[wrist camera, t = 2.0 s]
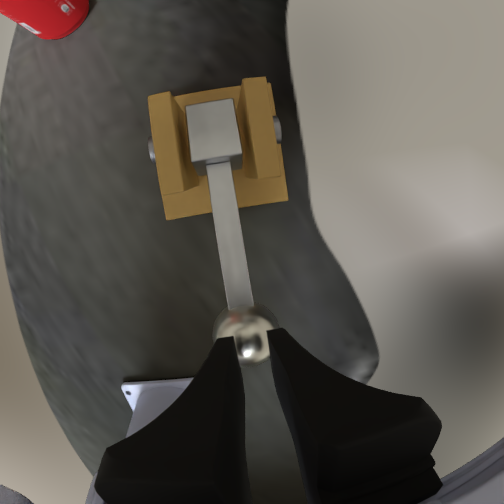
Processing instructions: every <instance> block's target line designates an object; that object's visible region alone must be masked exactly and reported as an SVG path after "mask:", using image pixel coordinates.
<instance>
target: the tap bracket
mask: <svg viewBox="0 0 504 504" xmlns="http://www.w3.org/2000/svg"><path fill="white" fill-rule="evenodd" d="M229 98H233V99H234V103H235V109H236V114H237V120H238V126H239V132H240V137H241V143H242V149H243V162H242V169H239V170H233V171H232V173H233V179H234V186H235V192H236V198H237V204H238V208H241V207H247V206H254V205H260V204H267V203H274V202H281V201H288V193H287V186H286V178H285V171H284V164H283V157H282V150H281V144H280V143H281V140H282V131H281V125H280V121H279V118H278V116H276V112H275V106H274V100H273V94H272V88H271V83H267V79H266V77H255V78H245V79H243V80H242V85H241V86H233V87H226V88H219V89H212V90H206V91H200V92H195V93H189V94H184V95H179V96H175V97H173V95H172V94H171V92H170V91H167V92H163V93H159V94H154V95H150V96H148V106H149V115H150V123H151V131H152V136H150V137H149V139H148V150H149V155H150V158H151V161H152V163H153V164H156V166H157V173H158V179H159V185H160V191H161V195H162V199H163V205H164V210H165V216H166V220H172V219H177V218H183V217H188V216H194V215H199V214H205V213H211V212H212V207H211V200H210V193H209V186H208V179H207V175H203V176H198V175H197V173H196V171H195V169H194V167H193V165H192V163H191V161H190V152H189V144H188V135H187V126H186V117H185V106H187V105H192V104H197V103H203V102H209V101H215V100H222V99H229Z"/></svg>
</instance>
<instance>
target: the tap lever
mask: <svg viewBox="0 0 504 504" xmlns="http://www.w3.org/2000/svg"><path fill="white" fill-rule="evenodd" d="M185 117H186V126H187V135H188V144H189V152H190V161H191V163H192V165H193V167H194V169H195V171H196V173H197V175H198V176H203V175H207V179H208V186H209V193H210V200H211V207H212V213H213V220H214V226H215V233H216V239H217V245H218V251H219V257H220V263H221V269H222V275H223V281H224V287H225V293H226V298H227V304H228V307H226V308H225V309H224V310H223V311H222V312H221V313H220V314H219V315H218V317H217V319H216V321H215V323H214V326H213V342H214V343H215V341H216V339H217V338H222V337H229V336H234V341H235V345H236V350H237V355H238V359H239V364H240V367H253V366H257V365H260V364H262V363H264V362H265V361H267V360H268V359H269V358H270V352H269V346H268V339H267V332H266V330H272V329H277V328H279V324H278V322H277V320H276V318H275V316H274V315H273V313H272V312H271V311H270V310H269V309H267V308H266V307H265V306H263V305H261V304H259V303H256V302H254V301H253V295H252V289H251V283H250V277H249V271H248V265H247V259H246V253H245V247H244V241H243V235H242V229H241V223H240V217H239V210H238V204H237V198H236V192H235V186H234V179H233V173H232V171H233V170H239V169H242V162H243V149H242V143H241V137H240V132H239V126H238V120H237V114H236V109H235V103H234V99H233V98H229V99H222V100H215V101H209V102H203V103H197V104H192V105H187V106H185Z"/></svg>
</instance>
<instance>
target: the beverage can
mask: <svg viewBox="0 0 504 504" xmlns="http://www.w3.org/2000/svg"><path fill="white" fill-rule="evenodd" d="M88 12H89V0H0V13H2V14H3V15H5V16H7V17H8V18H10V19H12V20H13V21H15V22H16V23H18V24H19V25H21V26H23V27H24V28H26V29H27V30H29V31H30V32H32V33H34V34H35V35H37V36H38V37H40V38H42V39H54V40H57V39H61V38H64V37H66V36H68V35H70V34H71V33H73V32H74V31H75V30H76V29H77V28H78V27H79V26H80V25H81V24H82V23H83V22H84V20H85V19H86V17H87V15H88Z"/></svg>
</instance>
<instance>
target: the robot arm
mask: <svg viewBox="0 0 504 504" xmlns="http://www.w3.org/2000/svg"><path fill="white" fill-rule="evenodd" d="M266 332H267V339H268V346H269V352H270V359H271V366H272V373H273V377H274V382H275V387H276V392H277V395H278V398H279V401H280V404H281V407H282V409H283V412H284V415H285V418H286V421H287V424H288V426H289V429H290V432H291V435H292V438H293V441H294V445H295V449H296V453H297V457H298V462H299V466H300V471H301V475H302V479H303V484H304V488H305V493H306V497H307V502H308V504H504V438H502V439H501V440H500V441H498V442H497V443H496V444H494V445H493V446H492V447H490V448H489V449H487V450H486V451H485V452H483V453H482V454H480V455H479V456H477V457H476V458H474V459H473V460H471V461H470V462H468V463H467V464H465V465H463V466H462V467H460V468H458V469H457V470H455V471H453V472H452V473H450V474H448V475H446V476H445V477H443V478H441V479H440V478H439V477H438V475H437V473H436V472H435V470H434V469H433V466H434V465H435V461H434V459H433V457H432V456H431V454H430V453H431V452H432V450H433V448H434V446H435V444H436V441H437V439H438V437H439V435H440V431H441V428H442V424H441V421H440V419H439V418H438V416H437V415H436V414H435V412H434V411H433V410H432V409H431V407H430V406H429V405H428V404H427V403H426V402H425V401H424V400H423V399H422V398H421V397H415V396H409V395H402V394H396V393H392V392H388V391H384V390H380V389H377V388H374V387H371V386H368V385H365V384H363V383H360V382H358V381H355V380H353V379H350V378H348V377H346V376H344V375H342V374H340V373H339V372H337V371H335V370H333V369H332V368H330V367H328V366H327V365H325V364H324V363H322V362H321V361H320V360H318V359H317V358H316V357H314V356H313V355H312V354H310V353H309V352H308V351H307V350H306V349H304V348H303V347H302V346H301V345H300V344H299V343H298V342H297V341H296V340H295V339H294V338H293V337H292V336H291V335H290V334H289V333H288V332H287V331H286V330H285V329H284V328H277V329H272V330H266ZM121 388H122V391H123V393H124V395H125V397H126V399H127V400H128V402H129V404H130V406H131V408H132V410H133V416H132V419H131V422H130V425H129V428H128V432H127V435H126V438H125V439H123V440H121V441H120V442H118V443H116V444H114V445H112V446H110V447H108V448H106V451H105V453H104V455H103V458H102V460H101V464H100V467H99V470H98V472H96V473H95V475H94V477H93V480H92V483H91V486H90V489H89V492H88V495H87V499H86V503H85V504H252V497H251V491H250V483H249V476H248V469H247V461H246V452H245V394H244V386H243V378H242V373H241V369H240V364H239V359H238V355H237V350H236V345H235V341H234V336H229V337H222V338H217V339H216V341H215V343H214V345H213V347H212V349H211V351H210V352H209V354H208V356H207V358H206V360H205V361H204V363H203V365H202V366H201V368H200V369H199V371H198V372H197V374H196V375H195V377H193V378H183V379H172V380H159V381H143V382H124V383H123V384H122V386H121ZM128 391H129V392H128ZM0 504H34V503H32V502H31V501H30V500H29V499H28V498H26V497H25V496H23V495H22V494H20V493H18V492H16V491H14V490H12V489H9V488H7V487H5V486H3V485H0Z"/></svg>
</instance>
